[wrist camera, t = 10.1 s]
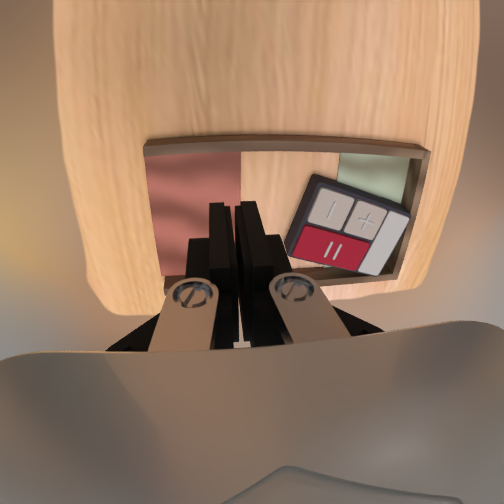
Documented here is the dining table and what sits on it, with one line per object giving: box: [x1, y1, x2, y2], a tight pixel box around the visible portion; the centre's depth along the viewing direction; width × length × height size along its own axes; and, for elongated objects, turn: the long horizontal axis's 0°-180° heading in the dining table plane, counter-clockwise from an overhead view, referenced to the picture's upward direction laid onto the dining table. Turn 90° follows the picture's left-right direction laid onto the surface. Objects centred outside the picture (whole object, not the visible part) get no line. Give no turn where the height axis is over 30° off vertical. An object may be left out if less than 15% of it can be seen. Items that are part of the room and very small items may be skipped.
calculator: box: [284, 174, 411, 277], centre depth 43 cm, size 11×4×15 cm
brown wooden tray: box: [143, 135, 431, 295], centre depth 41 cm, size 21×36×3 cm, turn 89°
